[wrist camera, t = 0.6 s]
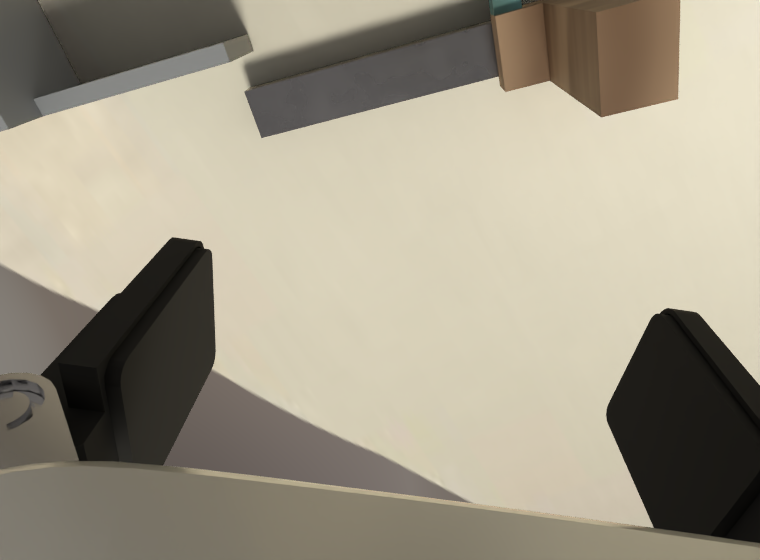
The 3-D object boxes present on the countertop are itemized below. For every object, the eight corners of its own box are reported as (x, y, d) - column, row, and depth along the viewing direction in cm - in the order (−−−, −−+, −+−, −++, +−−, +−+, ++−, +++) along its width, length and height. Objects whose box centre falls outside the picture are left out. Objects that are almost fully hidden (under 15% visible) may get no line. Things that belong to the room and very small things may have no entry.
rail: (607, -13, 30) (616, -12, 29) (609, 42, 31) (618, 45, 30) (250, 87, 34) (244, 91, 33) (267, 132, 35) (261, 137, 34)
